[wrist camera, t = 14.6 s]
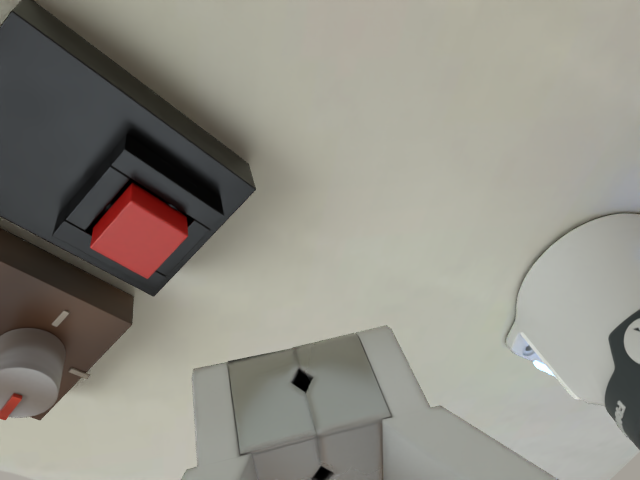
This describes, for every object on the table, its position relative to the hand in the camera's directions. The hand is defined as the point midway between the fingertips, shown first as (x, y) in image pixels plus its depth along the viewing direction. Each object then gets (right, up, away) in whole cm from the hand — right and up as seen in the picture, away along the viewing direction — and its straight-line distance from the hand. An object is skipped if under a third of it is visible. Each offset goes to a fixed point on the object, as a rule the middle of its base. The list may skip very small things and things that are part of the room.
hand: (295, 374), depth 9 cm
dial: (-19, -5, +28) cm, 34 cm away
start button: (-10, +3, +23) cm, 25 cm away
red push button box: (-13, +7, +25) cm, 29 cm away
